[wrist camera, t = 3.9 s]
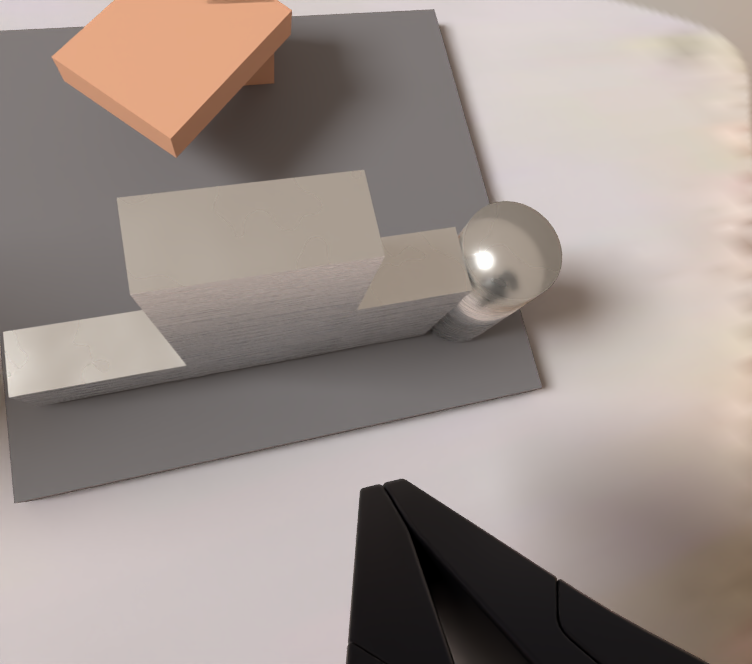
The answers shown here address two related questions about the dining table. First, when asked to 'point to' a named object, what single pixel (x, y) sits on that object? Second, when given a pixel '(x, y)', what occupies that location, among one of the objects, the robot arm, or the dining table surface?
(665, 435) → the dining table surface
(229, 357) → the link
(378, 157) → the board
